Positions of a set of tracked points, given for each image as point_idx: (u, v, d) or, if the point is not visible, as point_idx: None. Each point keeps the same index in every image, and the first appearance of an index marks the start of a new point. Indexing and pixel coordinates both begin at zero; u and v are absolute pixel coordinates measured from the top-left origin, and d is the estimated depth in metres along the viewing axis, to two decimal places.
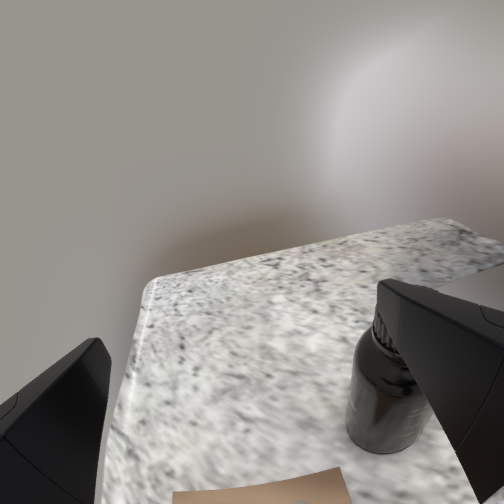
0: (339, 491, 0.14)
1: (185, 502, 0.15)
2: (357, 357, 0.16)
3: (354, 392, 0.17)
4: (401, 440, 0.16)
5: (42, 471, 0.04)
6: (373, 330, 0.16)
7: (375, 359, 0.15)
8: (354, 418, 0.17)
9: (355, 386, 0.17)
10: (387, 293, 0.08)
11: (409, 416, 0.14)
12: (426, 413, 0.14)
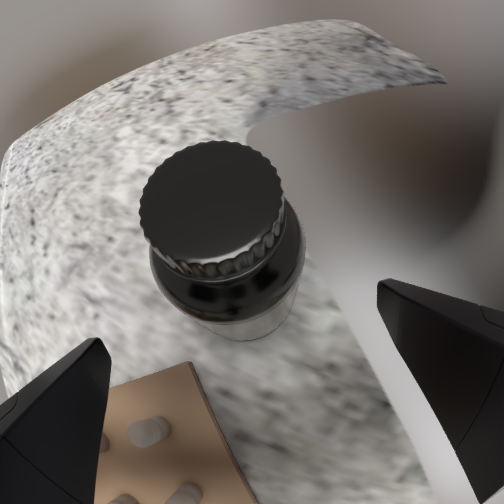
0: (191, 393, 0.17)
1: None
2: (149, 252, 0.12)
3: None
4: (252, 336, 0.17)
5: (42, 471, 0.04)
6: None
7: (164, 264, 0.11)
8: None
9: None
10: (387, 293, 0.08)
11: (239, 329, 0.13)
12: (269, 320, 0.14)
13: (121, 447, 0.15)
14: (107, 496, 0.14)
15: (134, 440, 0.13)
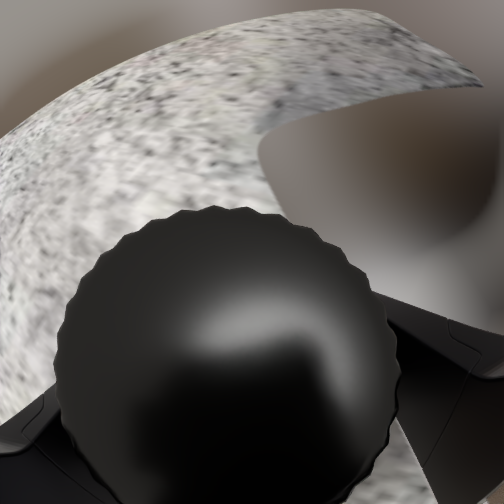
0: None
1: None
2: None
3: None
4: None
5: (73, 478, 0.04)
6: None
7: None
8: None
9: None
10: None
11: None
12: None
13: None
14: None
15: None
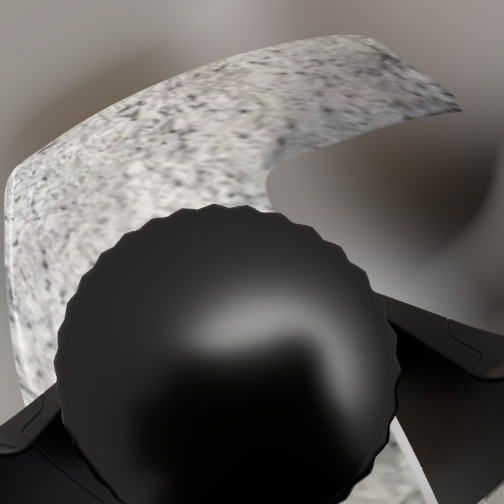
0: None
1: None
2: None
3: None
4: None
5: (73, 478, 0.04)
6: None
7: None
8: None
9: None
10: None
11: None
12: None
13: None
14: None
15: None
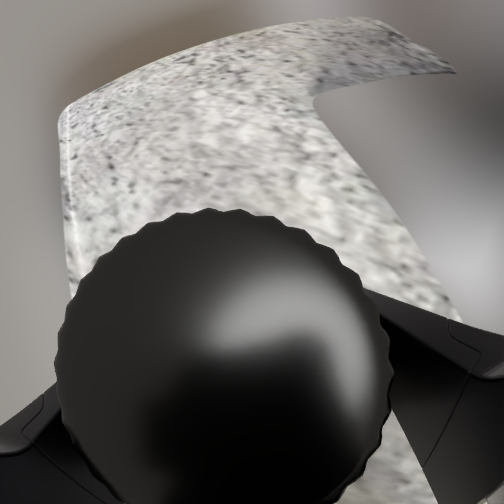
0: None
1: None
2: None
3: None
4: None
5: (74, 478, 0.04)
6: None
7: None
8: None
9: None
10: None
11: None
12: None
13: None
14: None
15: None
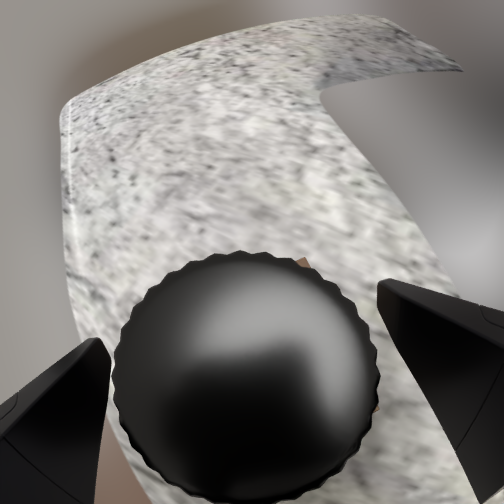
0: None
1: None
2: None
3: None
4: None
5: (42, 471, 0.04)
6: None
7: None
8: None
9: None
10: (387, 293, 0.08)
11: None
12: None
13: None
14: None
15: None
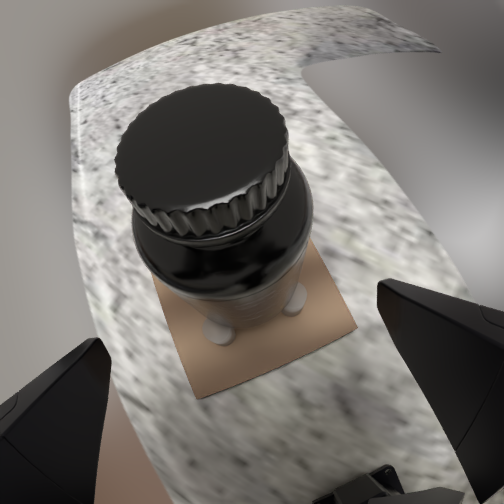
0: None
1: None
2: None
3: None
4: (252, 321, 0.15)
5: (42, 471, 0.04)
6: None
7: (146, 228, 0.09)
8: None
9: None
10: (387, 293, 0.08)
11: (236, 309, 0.11)
12: (271, 300, 0.12)
13: None
14: (198, 334, 0.20)
15: None
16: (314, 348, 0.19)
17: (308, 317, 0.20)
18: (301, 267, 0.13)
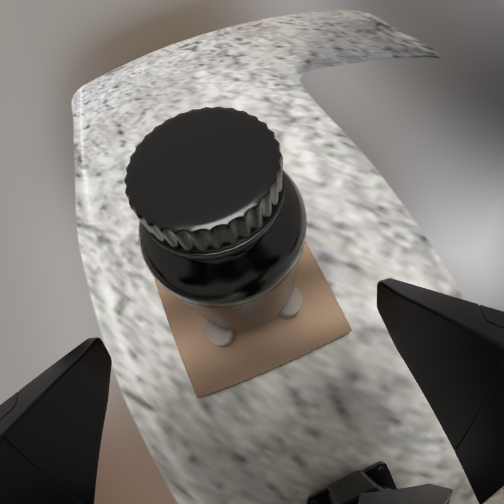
0: None
1: None
2: None
3: None
4: (250, 324, 0.16)
5: (42, 471, 0.04)
6: None
7: (153, 240, 0.10)
8: None
9: None
10: (387, 293, 0.08)
11: (235, 314, 0.12)
12: (268, 305, 0.13)
13: None
14: (199, 335, 0.21)
15: None
16: (310, 349, 0.20)
17: (304, 320, 0.21)
18: (296, 274, 0.14)
